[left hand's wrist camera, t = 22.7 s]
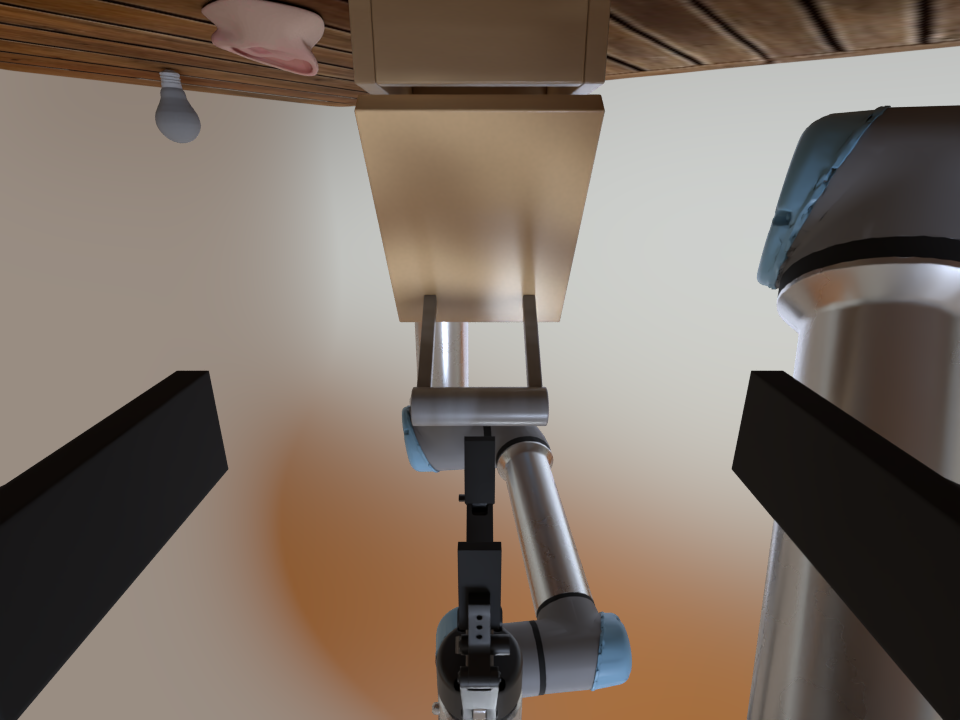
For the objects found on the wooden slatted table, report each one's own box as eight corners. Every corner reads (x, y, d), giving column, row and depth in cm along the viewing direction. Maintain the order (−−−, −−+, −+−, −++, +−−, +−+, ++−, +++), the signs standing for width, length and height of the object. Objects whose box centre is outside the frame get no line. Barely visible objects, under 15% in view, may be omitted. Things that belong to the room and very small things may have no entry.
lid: (558, 307, 32) (572, 443, 27) (401, 307, 32) (386, 443, 27) (601, 93, 20) (641, 258, 15) (357, 93, 20) (318, 258, 15)
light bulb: (182, 66, 74) (195, 142, 77) (197, 74, 79) (209, 144, 83) (137, 65, 73) (152, 141, 76) (156, 73, 78) (169, 143, 82)
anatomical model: (206, 45, 44) (342, 57, 48) (197, -10, 42) (338, 7, 47) (211, 71, 55) (321, 78, 59) (205, 28, 54) (317, 39, 58)
